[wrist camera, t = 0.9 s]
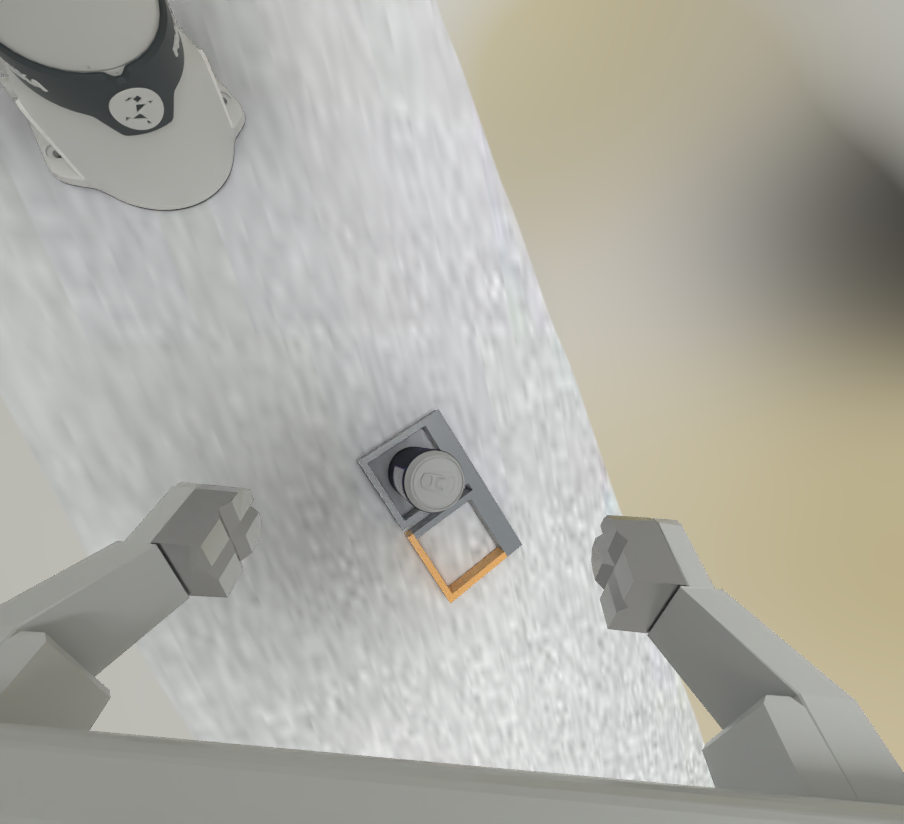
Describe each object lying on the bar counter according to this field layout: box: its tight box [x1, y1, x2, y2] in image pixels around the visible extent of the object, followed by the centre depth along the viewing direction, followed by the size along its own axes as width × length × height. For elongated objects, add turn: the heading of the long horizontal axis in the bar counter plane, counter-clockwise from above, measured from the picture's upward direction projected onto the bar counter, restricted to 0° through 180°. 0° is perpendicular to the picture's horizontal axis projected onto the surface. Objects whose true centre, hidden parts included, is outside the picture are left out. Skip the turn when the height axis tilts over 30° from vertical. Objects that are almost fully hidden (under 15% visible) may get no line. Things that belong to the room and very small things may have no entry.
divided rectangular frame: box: [357, 410, 522, 603], centre depth 45 cm, size 19×11×2 cm, turn 32°
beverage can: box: [388, 447, 464, 513], centre depth 40 cm, size 6×6×12 cm
